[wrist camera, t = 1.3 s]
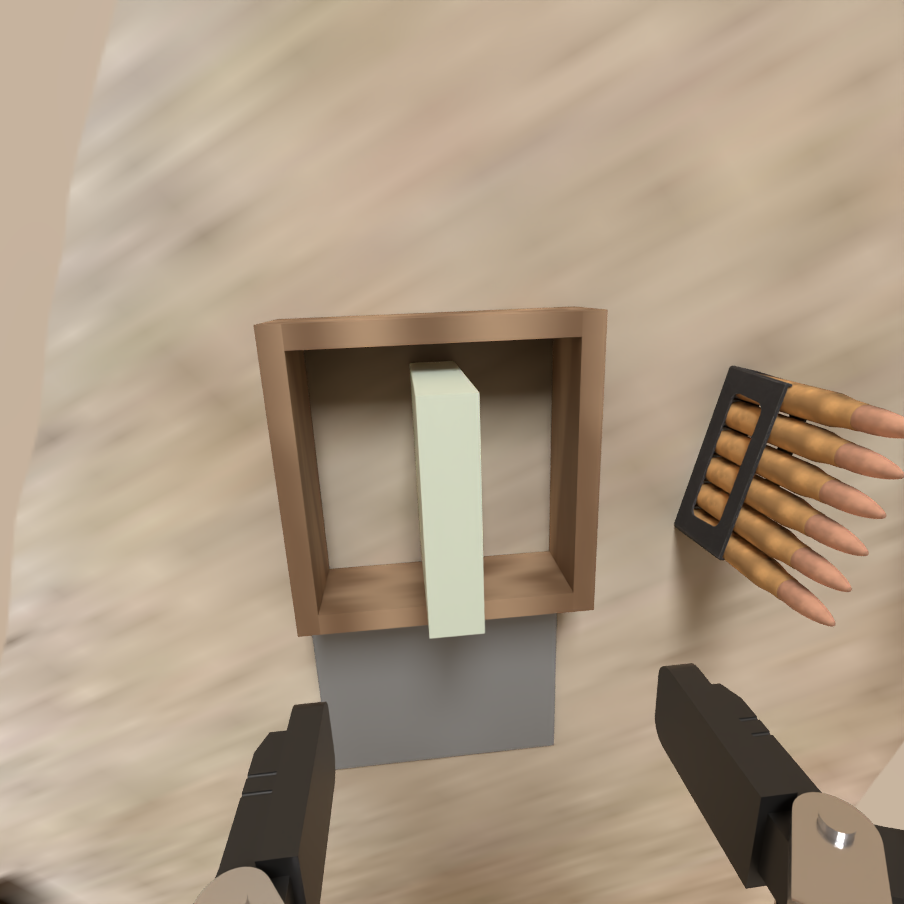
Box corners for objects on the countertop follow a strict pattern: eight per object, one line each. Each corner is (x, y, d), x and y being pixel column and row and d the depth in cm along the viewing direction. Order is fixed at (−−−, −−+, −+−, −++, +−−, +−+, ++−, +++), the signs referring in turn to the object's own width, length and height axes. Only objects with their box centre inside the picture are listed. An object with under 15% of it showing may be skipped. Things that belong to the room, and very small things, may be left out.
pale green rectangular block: (453, 360, 30) (479, 392, 21) (459, 536, 34) (484, 633, 24) (409, 362, 30) (415, 396, 21) (420, 539, 33) (429, 638, 24)
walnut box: (574, 306, 30) (607, 309, 25) (566, 566, 35) (593, 609, 30) (277, 319, 29) (253, 325, 24) (312, 587, 34) (297, 636, 29)
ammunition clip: (698, 530, 35) (843, 646, 24) (673, 526, 35) (807, 640, 24) (757, 371, 32) (953, 415, 21) (730, 364, 32) (914, 406, 21)
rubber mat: (555, 584, 35) (557, 587, 35) (552, 741, 39) (553, 745, 39) (309, 606, 34) (308, 608, 34) (330, 766, 38) (330, 770, 38)
